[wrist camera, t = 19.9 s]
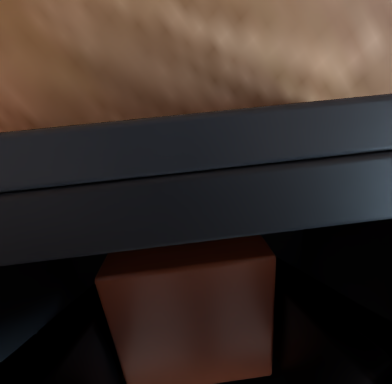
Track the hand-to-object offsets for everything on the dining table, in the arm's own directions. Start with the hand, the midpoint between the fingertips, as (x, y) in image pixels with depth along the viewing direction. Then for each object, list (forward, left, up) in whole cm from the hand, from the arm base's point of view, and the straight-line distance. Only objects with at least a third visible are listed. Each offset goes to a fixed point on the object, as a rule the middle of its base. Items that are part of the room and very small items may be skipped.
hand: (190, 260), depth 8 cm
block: (0, 0, -1) cm, 1 cm away
